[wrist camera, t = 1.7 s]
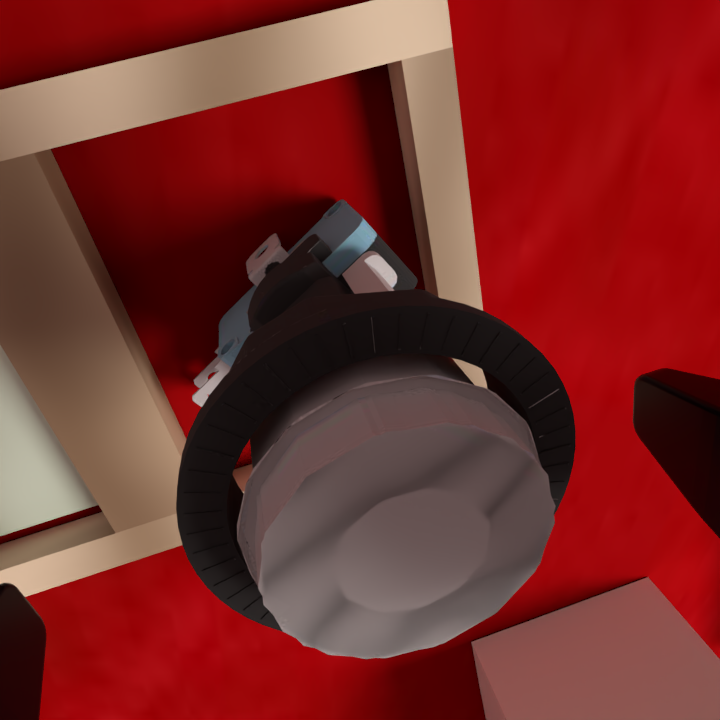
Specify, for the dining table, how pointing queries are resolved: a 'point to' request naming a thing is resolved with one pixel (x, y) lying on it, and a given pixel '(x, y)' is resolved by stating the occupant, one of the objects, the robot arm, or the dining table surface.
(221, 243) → the dining table surface
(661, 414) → the robot arm
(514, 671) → the crayon stand
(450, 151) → the wooden double frame
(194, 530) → the push button
